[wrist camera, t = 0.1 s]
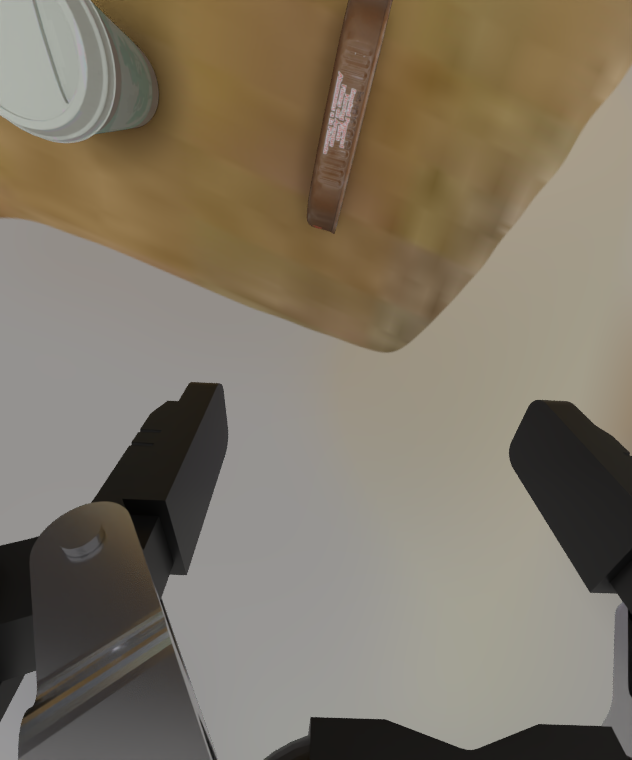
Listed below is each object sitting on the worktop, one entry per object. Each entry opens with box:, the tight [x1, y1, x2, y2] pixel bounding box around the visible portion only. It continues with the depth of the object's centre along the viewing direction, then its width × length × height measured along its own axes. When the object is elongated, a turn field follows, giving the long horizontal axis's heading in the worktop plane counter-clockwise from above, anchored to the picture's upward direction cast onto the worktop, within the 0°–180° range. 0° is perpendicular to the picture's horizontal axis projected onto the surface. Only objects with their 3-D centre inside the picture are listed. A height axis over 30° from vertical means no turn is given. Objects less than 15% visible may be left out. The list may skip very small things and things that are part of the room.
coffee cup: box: [0, 0, 159, 143], centre depth 23 cm, size 8×8×12 cm
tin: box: [307, 0, 392, 234], centre depth 26 cm, size 15×3×8 cm, turn 167°
